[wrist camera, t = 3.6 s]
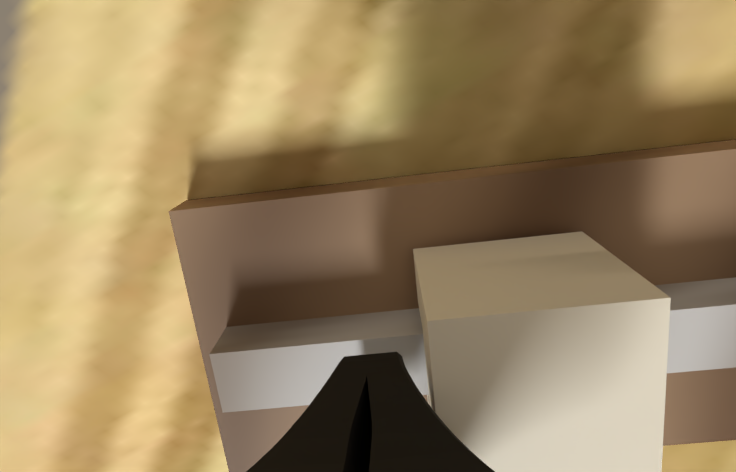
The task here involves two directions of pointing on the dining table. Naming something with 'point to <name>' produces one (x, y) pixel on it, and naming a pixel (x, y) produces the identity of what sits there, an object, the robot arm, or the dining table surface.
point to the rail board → (440, 228)
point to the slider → (545, 353)
